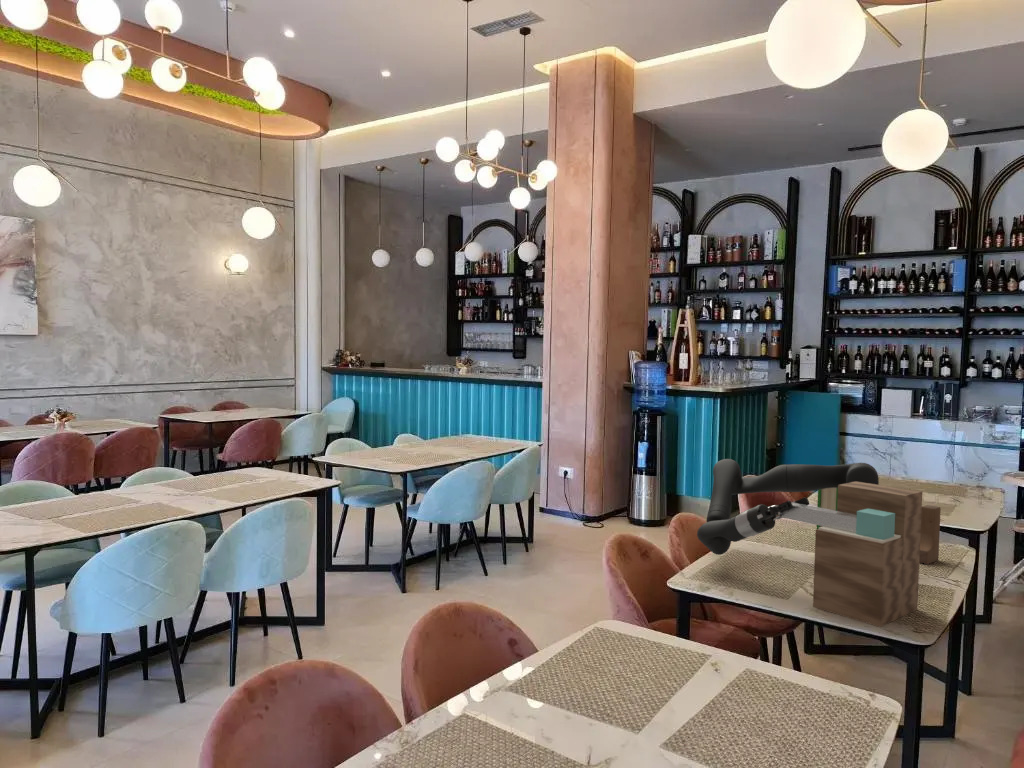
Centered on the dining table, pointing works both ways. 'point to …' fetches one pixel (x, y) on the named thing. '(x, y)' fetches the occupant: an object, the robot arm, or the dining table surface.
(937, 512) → the wooden block
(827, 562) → the stepped wooden riser
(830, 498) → the hardback book
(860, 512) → the mallet
